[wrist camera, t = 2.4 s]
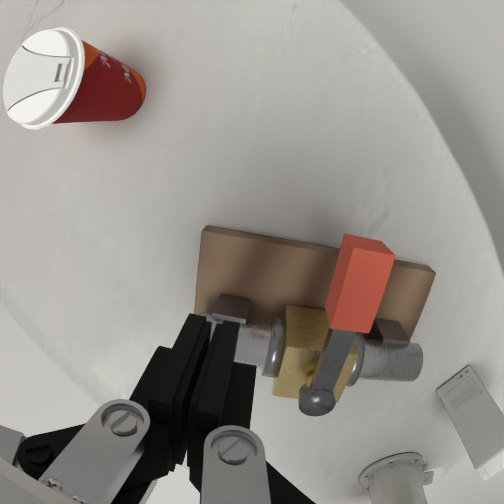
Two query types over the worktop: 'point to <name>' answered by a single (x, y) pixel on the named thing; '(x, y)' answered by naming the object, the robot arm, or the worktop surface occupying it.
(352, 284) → the valve lever
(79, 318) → the worktop surface
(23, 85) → the paper cup
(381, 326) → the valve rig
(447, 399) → the skincare box
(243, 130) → the worktop surface
